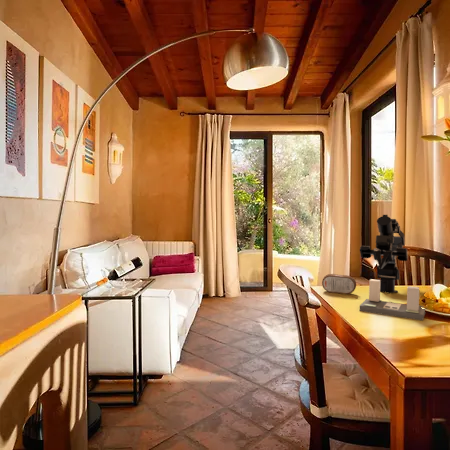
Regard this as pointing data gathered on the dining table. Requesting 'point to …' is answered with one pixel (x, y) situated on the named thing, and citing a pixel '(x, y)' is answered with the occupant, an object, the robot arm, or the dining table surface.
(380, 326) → the dining table surface
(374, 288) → the tab offwhite
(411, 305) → the tab grey
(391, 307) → the switch bank
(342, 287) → the tin
